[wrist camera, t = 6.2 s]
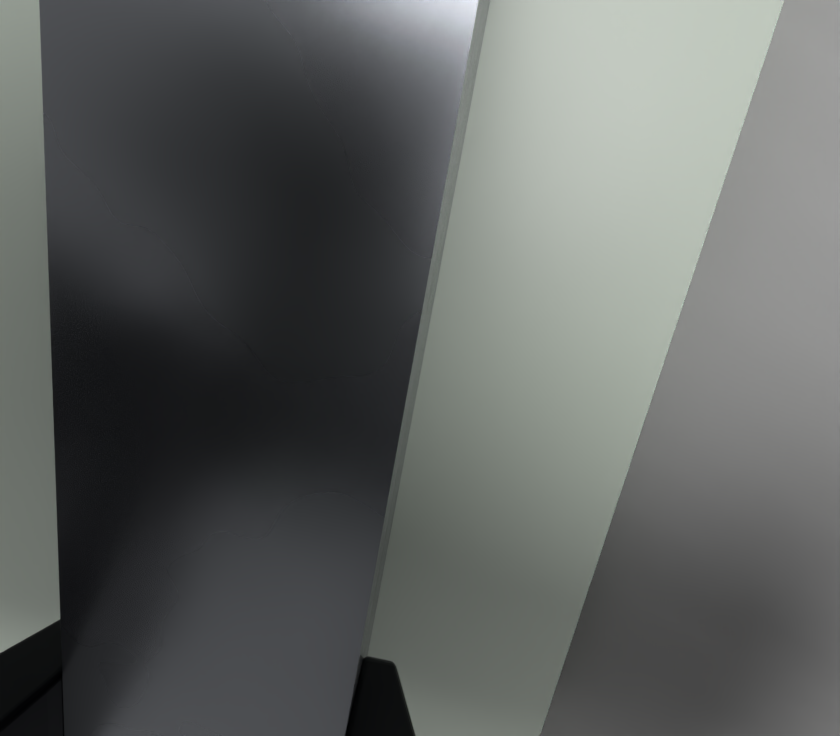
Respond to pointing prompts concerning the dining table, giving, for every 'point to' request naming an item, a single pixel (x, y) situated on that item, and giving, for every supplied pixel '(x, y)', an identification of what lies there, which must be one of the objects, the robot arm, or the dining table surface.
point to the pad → (470, 334)
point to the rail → (238, 340)
